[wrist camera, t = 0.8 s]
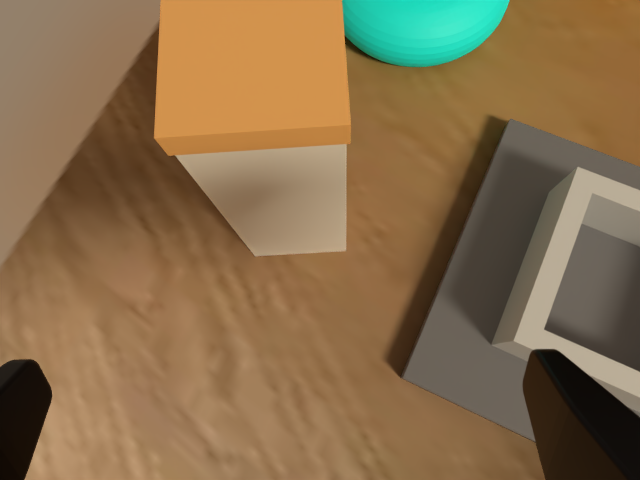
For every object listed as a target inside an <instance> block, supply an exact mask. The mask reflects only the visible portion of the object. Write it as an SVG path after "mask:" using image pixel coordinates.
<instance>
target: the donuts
mask: <svg viewBox="0 0 640 480" xmlns="http://www.w3.org/2000/svg"><path fill="white" fill-rule="evenodd" d="M508 3H509V0H342V7H343V21H344V35H345V36H346V37H347V38H348V39H349V40H350V41H351V42H352V43H353V44H354V45H355V46H356V47H358V48H359V49H360V50H362V51H363V52H365V53H366V54H368V55H370V56H372V57H374V58H376V59H378V60H381V61H383V62H386V63H390V64H394V65H398V66H405V67H428V66H434V65H439V64H443V63H447V62H450V61H453V60H455V59H457V58H460V57H462V56H464V55H466V54H467V53H469V52H471V51H472V50H474V49H475V48H477V47H478V46H479V45H481V44H482V43H483V42H484V41H485V40H486V39H487V38H488V37H489V36H490V35H491V34H492V32H493V31H494V30H495V29H496V27H497V26H498V24H499V23H500V21H501V19H502V18H503V16H504V13H505V11H506V9H507V6H508Z"/></svg>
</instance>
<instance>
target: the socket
mask: <svg viewBox="0 0 640 480" xmlns="http://www.w3.org/2000/svg"><path fill="white" fill-rule="evenodd" d="M535 349H556V350H558V351H560V352H561V353H562V354H564V355H565V356H566V357H567V358H568V359H570V360H571V361H572V362H573V363H575V364H576V365H577V366H578V367H579V368H581V369H582V370H583V371H584V372H586V373H587V374H588V375H589V376H590V377H592V378H593V379H594V380H595V381H597V382H598V383H599V384H600V385H602V386H603V387H604V388H605V389H606V390H608V391H609V392H610V393H611V394H613V395H614V396H615V397H616V398H617V399H619V400H620V401H621V402H622V403H624V404H625V405H626V406H627V407H628V408H630V409H631V410H632V411H633V412H635V413H636V414H637V415H638V416H639V417H640V167H639V166H636V165H633V164H631V163H628V162H625V161H622V160H620V159H617V158H614V157H612V156H609V155H606V154H604V153H601V152H598V151H596V150H593V149H590V148H588V147H585V146H582V145H580V144H577V143H574V142H572V141H569V140H566V139H564V138H561V137H558V136H556V135H553V134H550V133H548V132H545V131H542V130H539V129H537V128H534V127H531V126H529V125H526V124H523V123H521V122H518V121H515V120H513V119H510V120H509V121H508V123H507V125H506V126H505V128H504V130H503V132H502V134H501V137H500V139H499V142H498V144H497V147H496V149H495V151H494V154H493V156H492V159H491V161H490V163H489V166H488V168H487V171H486V173H485V175H484V178H483V180H482V183H481V185H480V187H479V190H478V192H477V195H476V197H475V199H474V202H473V204H472V207H471V209H470V211H469V214H468V216H467V219H466V221H465V223H464V226H463V228H462V231H461V233H460V235H459V238H458V240H457V243H456V245H455V248H454V250H453V252H452V255H451V257H450V260H449V262H448V264H447V267H446V269H445V272H444V274H443V276H442V279H441V281H440V284H439V286H438V288H437V291H436V293H435V296H434V298H433V300H432V303H431V305H430V308H429V310H428V312H427V315H426V317H425V320H424V322H423V324H422V327H421V329H420V332H419V334H418V336H417V339H416V341H415V344H414V346H413V349H412V351H411V353H410V356H409V358H408V361H407V363H406V365H405V368H404V370H403V373H402V375H401V377H400V378H402V379H404V380H406V381H408V382H410V383H412V384H414V385H416V386H419V387H421V388H423V389H425V390H427V391H429V392H431V393H433V394H435V395H437V396H439V397H442V398H444V399H446V400H448V401H450V402H452V403H454V404H456V405H458V406H460V407H462V408H464V409H467V410H469V411H471V412H473V413H475V414H477V415H479V416H481V417H483V418H485V419H487V420H490V421H492V422H494V423H496V424H498V425H500V426H502V427H504V428H506V429H508V430H510V431H512V432H515V433H517V434H519V435H521V436H523V437H525V438H527V439H529V440H531V441H533V442H535V443H536V441H535V437H534V434H533V430H532V426H531V422H530V418H529V414H528V410H527V406H526V402H525V398H524V394H523V386H522V384H523V377H524V374H525V370H526V366H527V362H528V358H529V355H530V353H531V351H532V350H535Z"/></svg>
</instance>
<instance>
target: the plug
mask: <svg viewBox="0 0 640 480" xmlns="http://www.w3.org/2000/svg"><path fill="white" fill-rule="evenodd" d="M154 139H155V140H156V141H157V142H158V144H159V145H160V146H161V147H162V148H163V150H164V151H165V152H166V153H167V155H168V156H173V155H175V156H176V157H177V159H178V160H179V161H180V162H181V164H182V165H183V166H184V167H185V169H186V170H187V171H188V172H189V174H190V175H191V176H192V177H193V179H194V180H195V181H196V182H197V184H198V185H199V186H200V188H201V189H202V190H203V191H204V193H205V194H206V195H207V196H208V198H209V199H210V200H211V201H212V203H213V204H214V205H215V206H216V208H217V209H218V210H219V212H220V213H221V214H222V215H223V217H224V218H225V219H226V220H227V222H228V223H229V224H230V225H231V227H232V228H233V229H234V230H235V232H236V233H237V234H238V236H239V237H240V238H241V239H242V241H243V242H244V243H245V244H246V246H247V247H248V248H249V249H250V251H251V252H252V253H253V254H254V256H268V255H285V254H302V253H320V252H337V251H346V144H350V143H351V119H350V105H349V91H348V77H347V63H346V49H345V35H344V21H343V7H342V0H161V5H160V25H159V46H158V66H157V87H156V107H155V128H154Z"/></svg>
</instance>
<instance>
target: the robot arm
mask: <svg viewBox="0 0 640 480" xmlns="http://www.w3.org/2000/svg"><path fill="white" fill-rule="evenodd" d="M522 386H523V394H524V398H525V402H526V406H527V410H528V414H529V418H530V422H531V426H532V430H533V434H534V437H535V441H536V445H537V449H538V453H539V457H540V461H541V465H542V468H543V472H544V476H545V479H546V480H640V417H639V416H638V415H637V414H636V413H635V412H633V411H632V410H631V409H630V408H628V407H627V406H626V405H625V404H624V403H622V402H621V401H620V400H619V399H617V398H616V397H615V396H614V395H613V394H611V393H610V392H609V391H608V390H606V389H605V388H604V387H603V386H602V385H600V384H599V383H598V382H597V381H595V380H594V379H593V378H592V377H590V376H589V375H588V374H587V373H586V372H584V371H583V370H582V369H581V368H579V367H578V366H577V365H576V364H575V363H573V362H572V361H571V360H570V359H568V358H567V357H566V356H565V355H564V354H562V353H561V352H560V351H558V350H556V349H535V350H532V351H531V353H530V355H529V358H528V362H527V366H526V370H525V374H524V377H523V384H522ZM51 399H52V390H51V387H50V385H49V383H48V381H47V379H46V377H45V375H44V374H43V372H42V370H41V368H40V366H39V364H38V363H37V362H36V361H34V360H31V359H26V360H11V361H9V362H7V363H5V364H4V365H2V366H1V367H0V480H24V479H25V477H26V474H27V471H28V469H29V466H30V463H31V460H32V457H33V454H34V451H35V448H36V445H37V442H38V439H39V436H40V433H41V430H42V427H43V424H44V421H45V418H46V415H47V412H48V409H49V406H50V403H51Z"/></svg>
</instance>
